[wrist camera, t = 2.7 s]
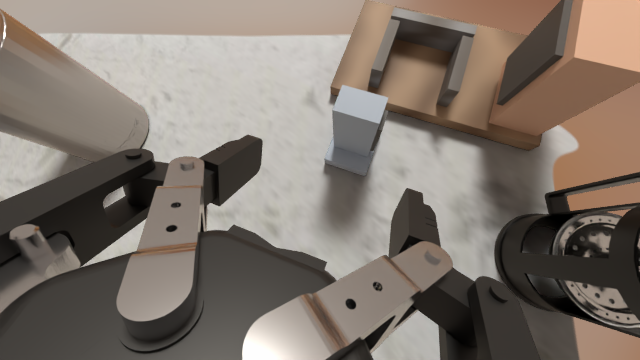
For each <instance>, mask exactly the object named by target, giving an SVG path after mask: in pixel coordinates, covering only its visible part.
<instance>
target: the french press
mask: <svg viewBox="0 0 640 360" xmlns="http://www.w3.org/2000/svg"><path fill="white" fill-rule="evenodd" d="M635 182H640V172H638V173H633V174H629V175H624V176H620V177H615V178H611V179H607V180H603V181H598V182H593V183H589V184H584V185H580V186H576V187H571V188H567V189H562V190H558V191H554V192H549V193H546V194H545V200H546V204H547V208H548V213H549V214H527V215H523V216H519V217H517V218H515V219H513V220H511V221H510V222H509V223H507V224H506V225H505V226H504V227H503V229H502V230H501V232H500V233H499V235H498V238H497V241H496V246H495V260H496V264H497V267H498V270H499V272H500V275H501V277H502V279H503V280H504V282H505V283H506V284H507V286H508V287H509V288H510V289H511V290H512V291H513V292H514V293H515V294H516V295H517V296H518V297H519V298H521V299H522V300H523V301H525V302H527V303H529V304H530V305H532V306H534V307H537V308H540V309H544V310H547V311H554V312H560V313H563V314H567V315H570V316H573V317H576V318H580V319H583V320H586V321H589V322H592V323H595V324H598V325H602V326H604V327H607V328H611V329H614V330H617V331H620V332H623V333H626V334H629V335H632V336H635V337H639V338H640V328H639V327H640V203H632V204H625V205H616V206H608V207H600V208H592V209H584V210H576V211H570V209H569V205H568V201H567V196H568V195H573V194H578V193H583V192H589V191H594V190H599V189H604V188H609V187H614V186H620V185H625V184H630V183H635ZM626 209H631V210H630V211H628V212H627V213H626V214H625V215H624V216H623V217H622V216H620V215H616V214H612V213H608V212H607V211H617V210H626ZM579 214H580V215H579ZM533 226H545V227H549V228H552V229H555V230H557V231H556V233H555V234H554V236H553V238H552V241H551V243H550V247H549V255H547V254H532V253H522V250H523V243H524V240H525V237H526V235H527V233H528V232H529V230H530V229H531V228H532V227H533ZM527 274H532V275H538V276H544V277H549V278H554V279H555V281H556V282H557V284H558V286H559V287H560V288H561V290H562V291H563V292H564V293H565V295H564V296H561V297H547V296H543V295H541V294H539V293H538V291H537V290H536V289H535V287H534V286H533V285H532V283H531V282H530V280H529V278H528V276H527Z"/></svg>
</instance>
